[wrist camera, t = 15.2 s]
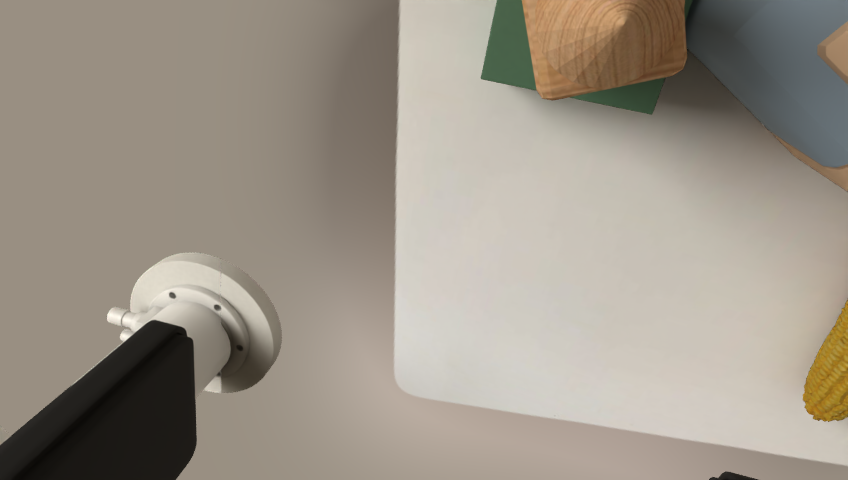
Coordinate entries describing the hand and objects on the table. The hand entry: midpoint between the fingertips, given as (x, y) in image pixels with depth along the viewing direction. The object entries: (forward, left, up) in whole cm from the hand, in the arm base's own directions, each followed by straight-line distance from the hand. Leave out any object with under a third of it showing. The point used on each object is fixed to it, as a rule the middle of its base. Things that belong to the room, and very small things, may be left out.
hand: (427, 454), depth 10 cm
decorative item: (+3, +7, -33) cm, 34 cm away
